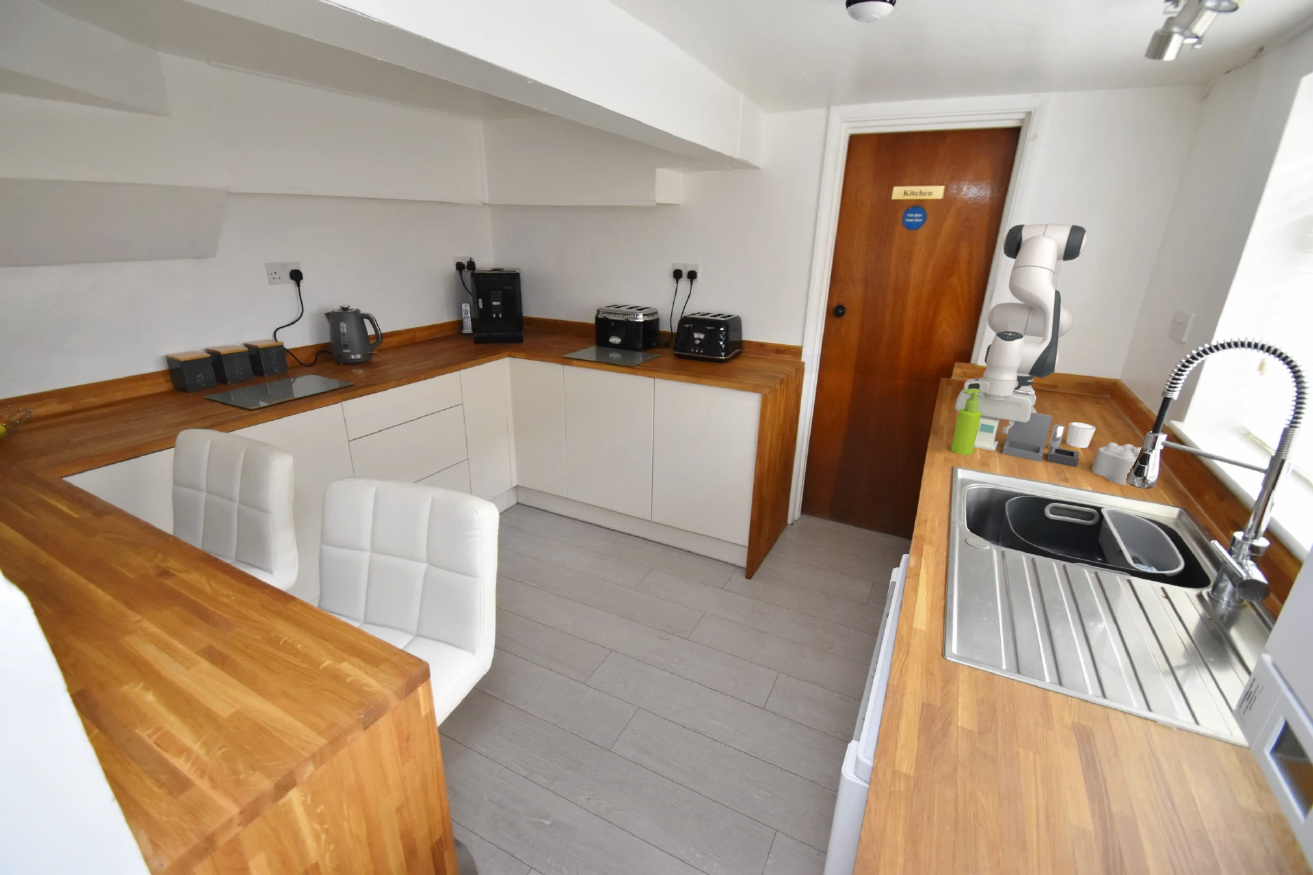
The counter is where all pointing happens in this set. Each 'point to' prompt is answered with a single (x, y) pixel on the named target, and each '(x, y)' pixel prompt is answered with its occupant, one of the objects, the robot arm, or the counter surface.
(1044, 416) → the grey device stand
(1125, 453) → the lumpy-topped squat cylinder
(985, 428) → the block
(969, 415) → the soap dispenser
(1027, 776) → the counter surface
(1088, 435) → the white faceted tapered cup
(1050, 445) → the rod
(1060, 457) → the rod bracket
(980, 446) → the plate
